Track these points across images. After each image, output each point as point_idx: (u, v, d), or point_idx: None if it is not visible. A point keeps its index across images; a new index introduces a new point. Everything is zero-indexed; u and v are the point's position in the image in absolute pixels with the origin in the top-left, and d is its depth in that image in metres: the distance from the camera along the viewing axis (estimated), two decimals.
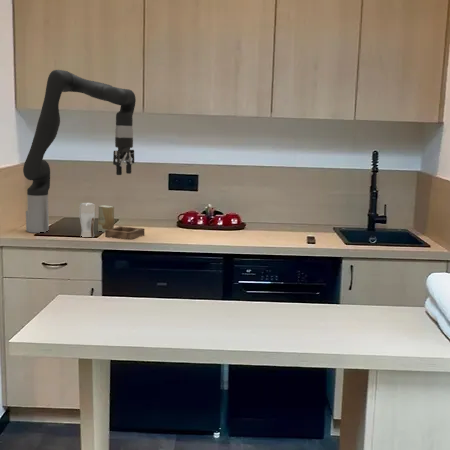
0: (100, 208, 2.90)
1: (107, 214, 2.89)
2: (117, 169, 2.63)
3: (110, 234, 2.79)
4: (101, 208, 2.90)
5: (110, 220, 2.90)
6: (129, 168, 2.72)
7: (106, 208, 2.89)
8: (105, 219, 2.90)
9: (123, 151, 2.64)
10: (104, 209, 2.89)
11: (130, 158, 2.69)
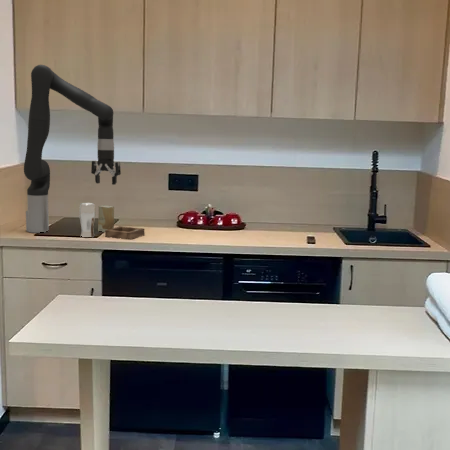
0: (100, 208, 2.90)
1: (107, 214, 2.89)
2: (115, 179, 2.87)
3: (110, 234, 2.79)
4: (101, 208, 2.90)
5: (110, 220, 2.90)
6: (99, 178, 2.91)
7: (106, 208, 2.89)
8: (105, 219, 2.90)
9: None
10: (104, 209, 2.89)
11: None
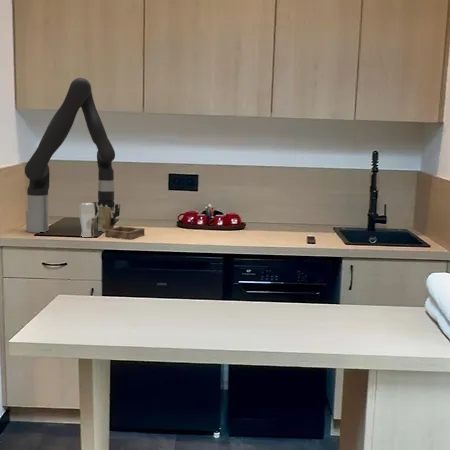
0: (100, 208, 2.90)
1: (107, 214, 2.89)
2: (114, 220, 2.90)
3: (110, 234, 2.79)
4: (101, 208, 2.90)
5: (110, 220, 2.90)
6: None
7: (106, 208, 2.89)
8: (105, 219, 2.90)
9: None
10: (104, 209, 2.89)
11: None
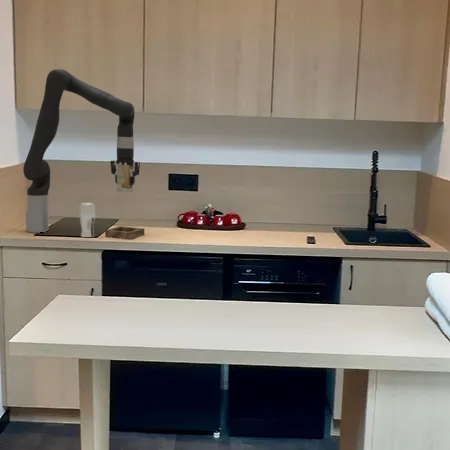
0: (119, 166, 2.78)
1: (126, 172, 2.76)
2: (133, 179, 2.78)
3: (110, 234, 2.79)
4: (120, 166, 2.77)
5: None
6: None
7: (125, 166, 2.76)
8: (125, 178, 2.77)
9: None
10: (123, 167, 2.77)
11: None
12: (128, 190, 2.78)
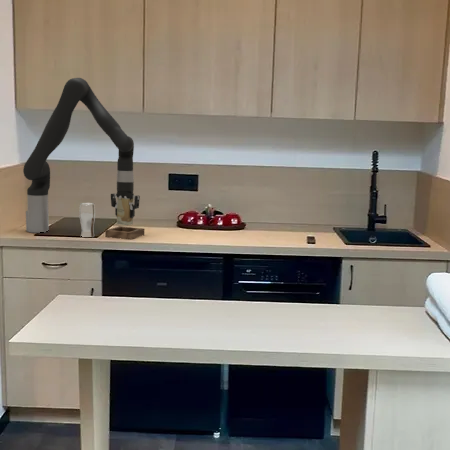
0: (119, 200, 2.80)
1: (126, 206, 2.79)
2: (133, 212, 2.80)
3: (110, 234, 2.79)
4: (120, 199, 2.80)
5: None
6: None
7: (125, 199, 2.79)
8: (125, 211, 2.80)
9: None
10: (123, 200, 2.79)
11: None
12: (128, 223, 2.81)
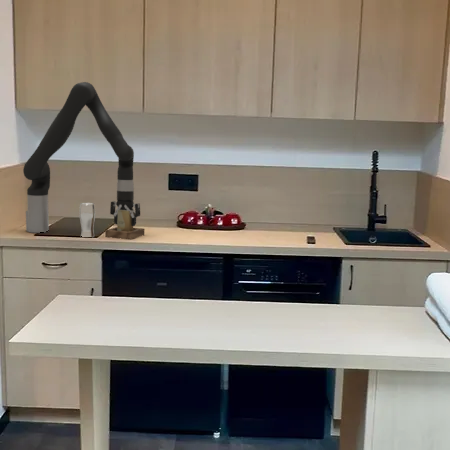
0: (119, 212, 2.81)
1: (127, 218, 2.80)
2: (135, 220, 2.81)
3: (110, 234, 2.79)
4: (120, 212, 2.81)
5: (130, 224, 2.81)
6: None
7: (126, 212, 2.79)
8: (125, 223, 2.80)
9: None
10: (124, 213, 2.80)
11: None
12: None
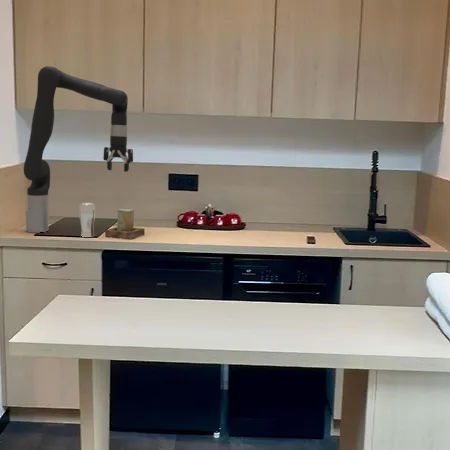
0: (119, 212, 2.81)
1: (127, 218, 2.80)
2: (127, 166, 2.82)
3: (110, 234, 2.79)
4: (120, 212, 2.81)
5: (130, 224, 2.82)
6: (111, 165, 2.86)
7: (126, 212, 2.80)
8: (125, 223, 2.80)
9: None
10: (124, 213, 2.80)
11: None
12: None
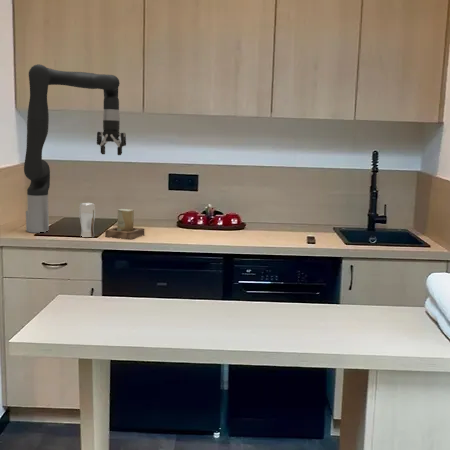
0: (119, 212, 2.81)
1: (127, 218, 2.80)
2: (121, 150, 2.87)
3: (110, 234, 2.79)
4: (120, 212, 2.81)
5: (130, 224, 2.82)
6: (104, 149, 2.91)
7: (126, 212, 2.80)
8: (125, 223, 2.80)
9: None
10: (124, 213, 2.80)
11: None
12: None
